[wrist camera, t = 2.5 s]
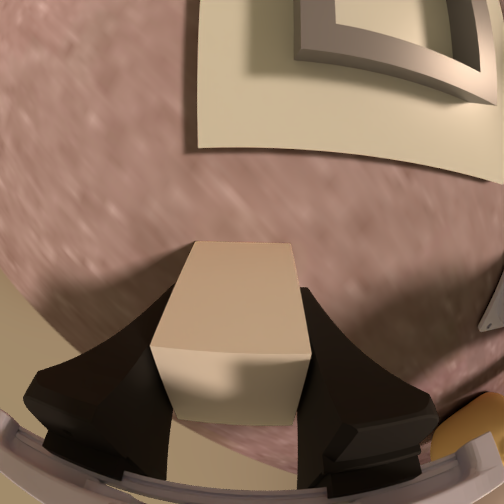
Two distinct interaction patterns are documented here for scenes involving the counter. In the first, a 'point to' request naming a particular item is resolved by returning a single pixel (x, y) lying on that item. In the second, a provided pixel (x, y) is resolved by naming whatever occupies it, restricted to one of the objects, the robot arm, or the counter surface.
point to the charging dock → (356, 79)
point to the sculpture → (471, 426)
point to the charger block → (234, 336)
